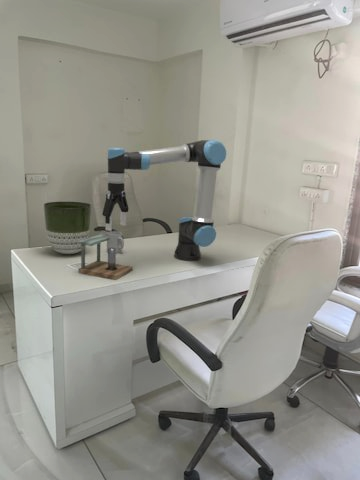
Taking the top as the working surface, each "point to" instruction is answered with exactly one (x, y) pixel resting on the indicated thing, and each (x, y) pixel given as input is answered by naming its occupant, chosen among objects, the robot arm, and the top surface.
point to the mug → (115, 241)
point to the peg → (111, 258)
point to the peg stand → (99, 266)
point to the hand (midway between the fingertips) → (116, 227)
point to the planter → (67, 225)
